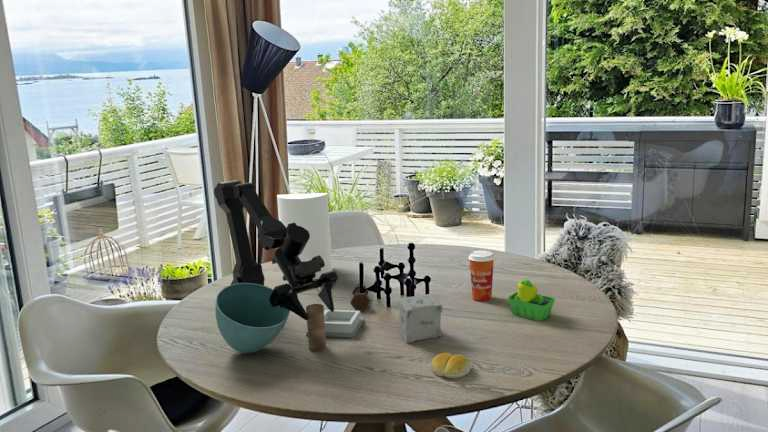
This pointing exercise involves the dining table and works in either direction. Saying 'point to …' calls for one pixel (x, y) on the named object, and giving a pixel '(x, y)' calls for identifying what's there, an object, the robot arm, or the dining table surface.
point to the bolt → (359, 299)
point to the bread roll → (450, 365)
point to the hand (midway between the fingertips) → (320, 315)
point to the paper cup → (481, 275)
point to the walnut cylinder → (316, 327)
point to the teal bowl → (248, 316)
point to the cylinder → (309, 224)
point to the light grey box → (419, 317)
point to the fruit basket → (530, 302)
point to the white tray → (341, 323)
